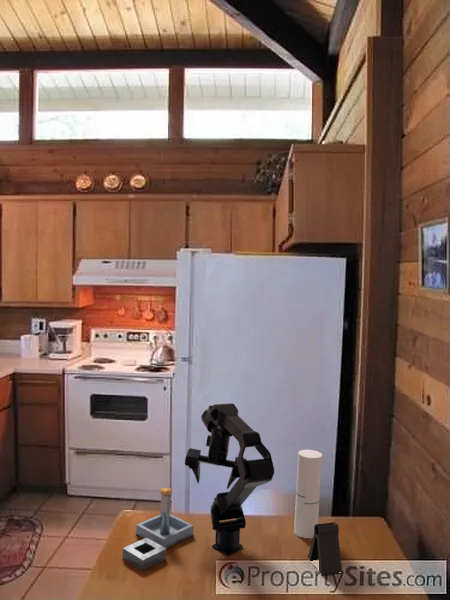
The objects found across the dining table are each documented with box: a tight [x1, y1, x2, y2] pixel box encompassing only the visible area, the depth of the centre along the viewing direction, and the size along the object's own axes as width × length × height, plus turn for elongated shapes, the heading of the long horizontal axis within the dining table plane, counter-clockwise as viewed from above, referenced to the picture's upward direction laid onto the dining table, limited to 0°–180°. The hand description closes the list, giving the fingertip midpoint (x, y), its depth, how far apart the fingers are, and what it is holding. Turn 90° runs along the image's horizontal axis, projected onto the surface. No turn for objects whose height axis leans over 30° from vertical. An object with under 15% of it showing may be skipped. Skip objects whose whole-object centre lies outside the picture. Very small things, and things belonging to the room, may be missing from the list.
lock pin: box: [159, 487, 173, 535], centre depth 168 cm, size 3×3×13 cm
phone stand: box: [307, 521, 343, 577], centre depth 155 cm, size 9×6×12 cm, turn 17°
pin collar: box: [122, 538, 167, 571], centre depth 155 cm, size 8×8×3 cm
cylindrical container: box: [293, 449, 323, 539], centre depth 172 cm, size 7×7×25 cm
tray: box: [135, 513, 194, 549], centre depth 168 cm, size 12×12×3 cm
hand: (212, 485), depth 174 cm, fingers open, 9 cm apart
